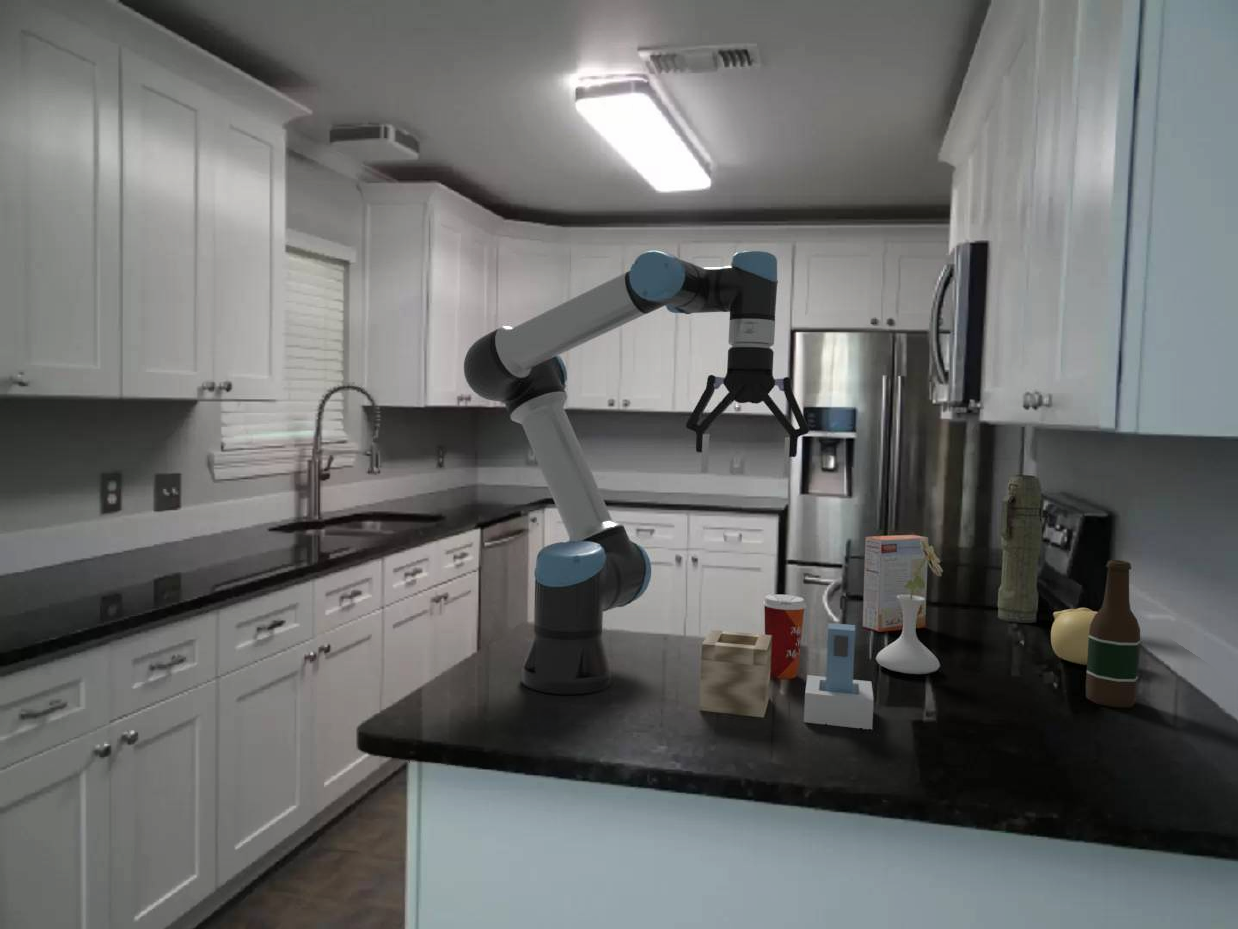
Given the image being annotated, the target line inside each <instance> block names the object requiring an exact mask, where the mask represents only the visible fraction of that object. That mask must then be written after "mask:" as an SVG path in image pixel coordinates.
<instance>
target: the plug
mask: <svg viewBox="0 0 1238 929" xmlns="http://www.w3.org/2000/svg"><path fill="white" fill-rule="evenodd" d="M827 629H828V630H827V650H826V651H827V652H826V654H827V655H826V671H825V677H826V691H828V692H838V693H847V694H852V689H853V680H854V667H855V666H854V665H855V664H854V663H855V646H856V645H855V644H856V625H854V624H845V623H835V622H834V623H832V622H829V623H828V628H827Z"/></svg>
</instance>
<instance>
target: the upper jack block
mask: <svg viewBox="0 0 1238 929" xmlns="http://www.w3.org/2000/svg"><path fill="white" fill-rule="evenodd" d="M771 643H772V635H765V634H761V633H753V632H752V633H751V632H738V631H730V630H729V631H728V630H719V629H718V630H717V629H710V631H709V632H708V634H707V636H706V637H705V638H704V640H703V642H702V644H701V662H700V664H701V665H700V687H699V688H700V689H699V690H700V691H699V711H702V712H703V711H704V712H711V713H712V712H713V713H720V714H731V715H737V716H738V715H739V716H746V717H747V716H749V717H756V718H763V719H764V718H765V715H766V712H767V707H768V704H769V701H770V685H771V684H770V683H771V681H770V680H771V677H770V666H771Z"/></svg>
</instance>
